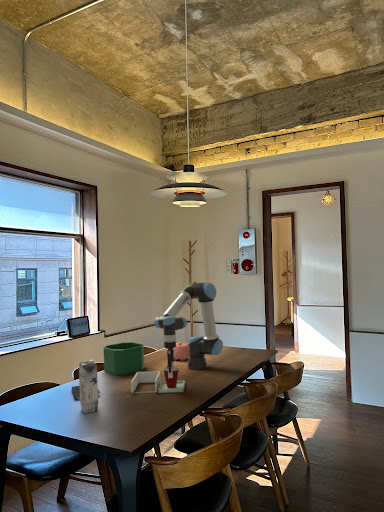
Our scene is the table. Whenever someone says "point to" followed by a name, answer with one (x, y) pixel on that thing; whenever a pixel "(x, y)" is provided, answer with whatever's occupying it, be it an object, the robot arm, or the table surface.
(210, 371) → the table surface
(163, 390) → the tray
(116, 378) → the table surface
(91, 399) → the juice carton
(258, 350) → the table surface
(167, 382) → the plastic cup
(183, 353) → the teapot
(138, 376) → the frame
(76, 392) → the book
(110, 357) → the planter
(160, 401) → the table surface
